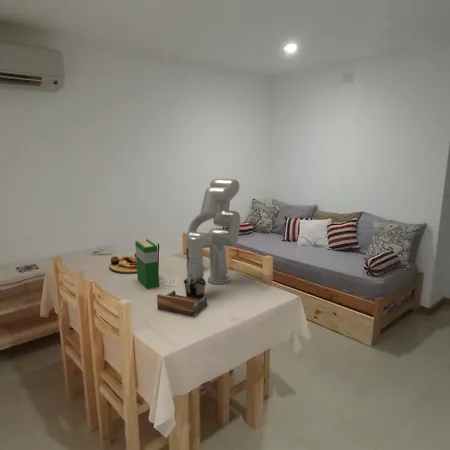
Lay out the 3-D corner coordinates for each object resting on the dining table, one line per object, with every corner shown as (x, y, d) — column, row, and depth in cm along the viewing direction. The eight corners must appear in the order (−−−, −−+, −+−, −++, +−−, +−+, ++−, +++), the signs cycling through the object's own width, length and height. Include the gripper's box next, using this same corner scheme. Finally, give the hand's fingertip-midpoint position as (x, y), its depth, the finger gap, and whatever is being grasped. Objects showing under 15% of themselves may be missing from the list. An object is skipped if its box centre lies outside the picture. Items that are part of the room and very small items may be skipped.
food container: (209, 295, 192) (209, 277, 190) (206, 300, 187) (205, 282, 184) (188, 293, 196) (187, 275, 194) (183, 297, 190) (183, 279, 188)
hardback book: (137, 279, 217) (135, 240, 212) (149, 277, 221) (147, 239, 216) (146, 289, 202) (144, 247, 197) (159, 286, 206) (157, 246, 201)
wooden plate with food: (100, 273, 230) (99, 260, 228) (122, 257, 261) (122, 246, 259) (147, 276, 225) (147, 264, 223) (165, 260, 255) (164, 249, 254)
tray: (173, 298, 189) (172, 285, 188) (207, 305, 181) (206, 291, 179) (157, 309, 177) (156, 294, 175) (193, 316, 168) (192, 301, 167)
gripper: (197, 254, 196) (198, 286, 199) (180, 263, 181) (181, 297, 184) (209, 256, 193) (210, 288, 196) (193, 265, 177) (194, 299, 181)
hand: (196, 292), depth 190 cm, fingers closed on food container, 5 cm apart
